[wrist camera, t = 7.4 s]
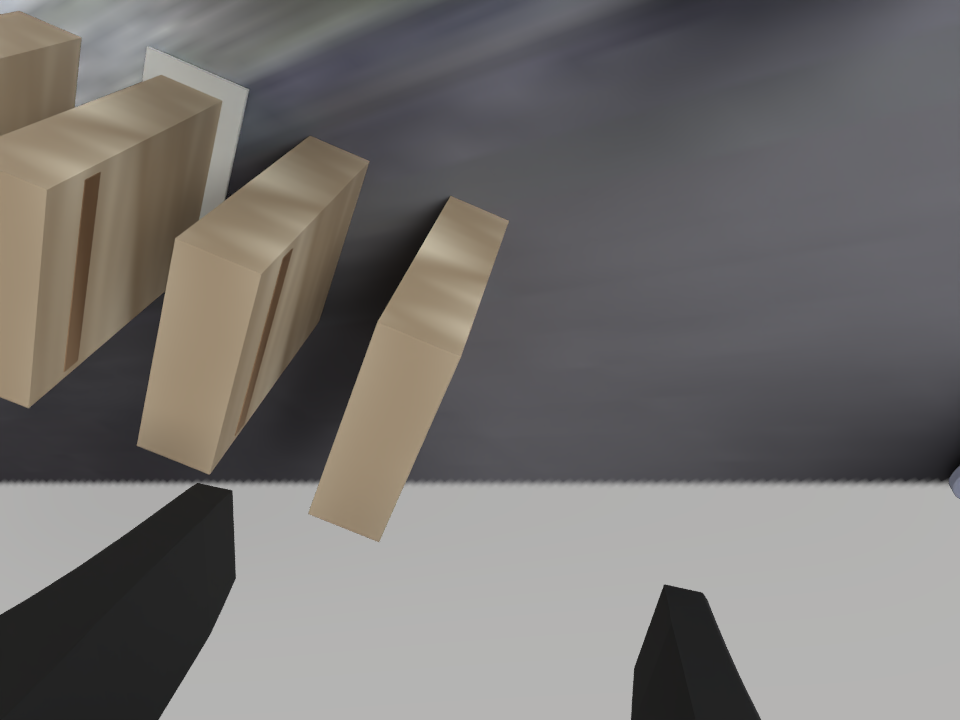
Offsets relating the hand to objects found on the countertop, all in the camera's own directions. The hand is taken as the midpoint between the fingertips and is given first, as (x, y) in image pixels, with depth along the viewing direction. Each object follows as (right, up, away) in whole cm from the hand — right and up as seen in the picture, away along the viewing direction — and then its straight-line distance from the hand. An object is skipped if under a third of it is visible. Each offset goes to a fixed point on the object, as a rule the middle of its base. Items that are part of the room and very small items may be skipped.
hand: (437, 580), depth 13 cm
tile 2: (-4, +7, +8) cm, 11 cm away
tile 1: (0, +6, +8) cm, 10 cm away
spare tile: (-7, +8, +8) cm, 14 cm away
